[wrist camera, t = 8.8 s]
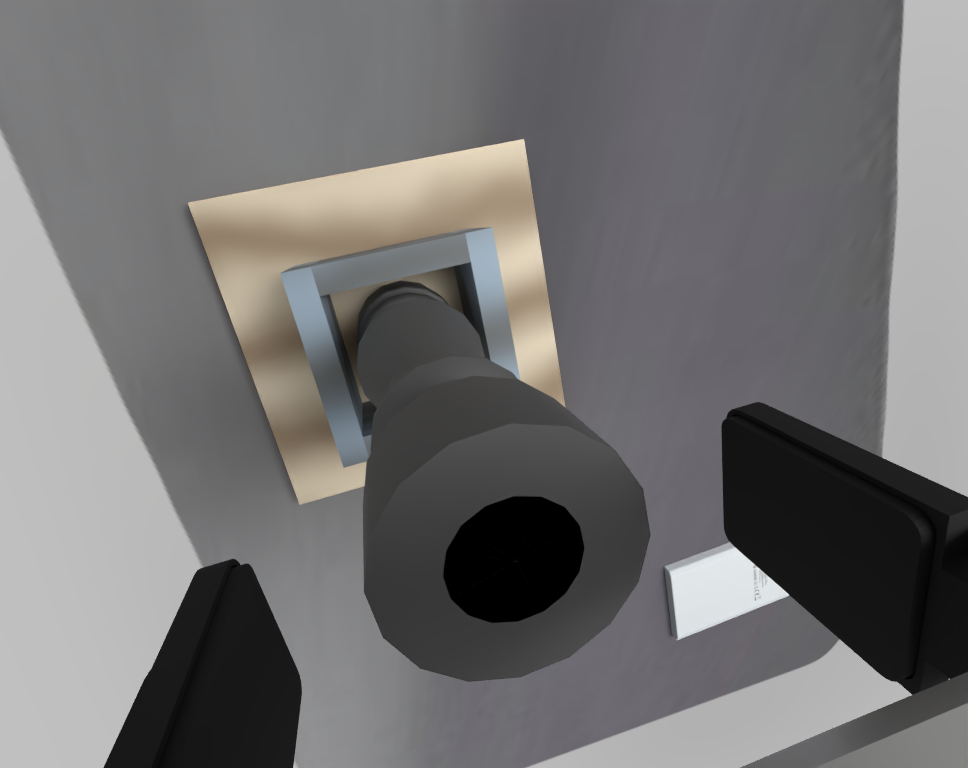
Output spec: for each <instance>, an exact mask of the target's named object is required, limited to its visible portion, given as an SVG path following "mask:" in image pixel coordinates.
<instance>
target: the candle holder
mask: <svg viewBox="0 0 968 768" xmlns="http://www.w3.org/2000/svg"><path fill="white" fill-rule="evenodd" d="M357 345H358V359H357V374H358V377H359V380H360V383H361V385H362V388H363V391H364V394H365V396H366V397H367V398H368V399H369V400H370V401H371V402H372V403H373V404H374V405H375V406H376V408H377V410H376V411H375V413H374V415H373V425H372V436H371V448H370V450H371V454H370V456H369V458H368V459H367V464H366V475H365V487H364V498H363V546H364V593H365V595H366V598H367V600H368V603H369V605H370V607H371V610H372V612H373V615H374V617H375V619H376V622H377V624H378V627H379V629H380V632H381V634H382V636H383V638H384V639H385V640H387V641H388V642H389V643H390V644H391V645H393V646H394V647H395V648H396V649H397V650H399V651H400V652H401V653H402V654H403V655H405V656H406V657H407V658H408V659H410V660H411V661H412V662H413V663H414V664H416V665H417V666H418V667H419V668H420V669H424V670H428V671H431V672H435V673H439V674H442V675H446V676H450V677H453V678H457V679H461V680H464V681H468V682H470V681H482V680H493V679H505V678H517V677H522V676H524V675H527V674H529V673H532V672H534V671H537V670H539V669H541V668H544V667H546V666H549V665H551V664H554V663H556V662H558V661H561V660H563V659H566V658H568V657H570V656H571V655H572V654H574V653H575V652H576V651H577V650H579V649H580V648H581V647H582V646H584V645H585V644H586V643H587V642H589V641H590V640H591V639H592V638H594V637H595V636H596V635H597V634H598V633H600V632H601V631H602V630H603V629H605V628H606V627H607V626H608V625H610V624H611V622H612V621H613V619H614V618H615V616H616V615H617V613H618V612H619V610H620V609H621V607H622V606H623V604H624V603H625V601H626V600H627V598H628V597H629V595H630V594H631V592H632V591H633V589H634V588H635V586H636V585H637V583H638V582H639V578H640V574H641V570H642V566H643V562H644V558H645V554H646V550H647V546H648V542H649V538H650V530H649V523H648V517H647V511H646V504H645V498H644V492H643V488H642V487H641V485H640V484H639V483H638V481H637V480H636V478H635V477H634V476H633V474H632V473H631V472H630V470H629V469H628V467H627V466H626V465H625V463H624V462H623V460H622V459H621V458H620V456H619V455H618V453H617V452H616V451H615V450H614V449H613V448H612V447H611V446H610V445H608V444H607V443H606V442H605V441H604V440H603V439H601V438H600V437H599V436H598V435H597V434H595V433H594V432H593V431H592V430H591V429H590V428H588V427H587V426H586V425H585V424H584V423H583V422H581V421H580V420H579V419H578V418H577V417H576V416H574V415H573V414H572V413H571V412H570V411H569V410H567V409H566V408H565V407H564V406H563V405H562V404H560V403H559V402H558V401H557V400H556V399H554V398H553V397H551V396H549V395H547V394H545V393H543V392H541V391H539V390H538V389H536V388H534V387H532V386H530V385H528V384H526V383H524V382H523V381H521V380H519V379H517V377H516V376H515V375H514V374H513V373H512V372H511V371H509V370H507V369H505V368H503V367H501V366H500V365H498V364H496V363H494V362H492V361H490V360H488V359H487V358H485V355H484V351H483V348H482V344H481V340H480V336H479V334H478V332H477V331H476V330H475V329H474V327H473V326H472V325H471V323H470V322H469V321H468V319H467V318H466V317H465V316H464V315H463V314H462V313H460V312H459V311H457V310H455V309H453V308H451V307H450V306H449V304H448V303H447V302H446V301H445V299H444V298H443V297H442V296H440V295H439V294H438V293H437V292H435V291H433V290H431V289H430V288H428V287H426V286H424V285H423V284H421V283H418V282H410V281H401V280H400V281H397V282H393V283H390V284H386V285H382V286H381V287H380V288H379V289H377V290H376V291H375V292H374V293H372V294H371V295H370V296H369V297H367V299H366V301H365V303H364V305H363V307H362V309H361V310H360V312H359V314H358V327H357Z"/></svg>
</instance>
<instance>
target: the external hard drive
mask: <svg viewBox="0 0 968 768" xmlns="http://www.w3.org/2000/svg"><path fill="white" fill-rule="evenodd" d="M664 569H665V577H666V586H667V595H668V603H669V612H670V621H671V630H672V635H673V636H674V637H675V638H676V639H677V640H679V639H681V638H684V637H686V636H689V635H692V634H694V633H697V632H699V631H702V630H704V629H707V628H709V627H711V626H714V625H717V624H719V623H722V622H724V621H726V620H729V619H732V618H734V617H737V616H739V615H742V614H744V613H747V612H749V611H752V610H754V609H757V608H759V607H761V606H764V605H767V604H769V603H772V602H774V601H777V600H779V599H782V598H784V597H787V596H789V594H788V593H787V592H786V591H784V590H783V589H782V588H781V587H780V586H779V585H778V584H776V583H775V582H774V581H773V580H772V579H771V578H770V577H768V576H767V575H766V574H765V573H764V572H763V571H762V570H760V569H759V568H758V567H757V566H756V565H755V564H754V563H752V562H751V561H750V560H749V559H748V558H747V557H746V556H744V555H743V554H742V553H741V552H740V551H739V550H738V549H736V548H735V547H734V546H733V545H732V544H731V543H730V542H729V543H727V544H724V545H721V546H719V547H716V548H713V549H710V550H708V551H705V552H702V553H699V554H697V555H694V556H691V557H689V558H686V559H683V560H680V561H678V562H675V563H672V564H670V565H667V566H664Z"/></svg>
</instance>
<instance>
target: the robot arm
mask: <svg viewBox="0 0 968 768" xmlns="http://www.w3.org/2000/svg"><path fill="white" fill-rule="evenodd" d="M722 467H723V510H724V530H725V534H726V536H727V538H728V540H729V541H730V543H731V544H732V545H733V546H734V547H735V548H736V549H738V550H739V551H740V552H741V553H742V554H743V555H744V556H746V557H747V558H748V559H749V560H750V561H751V562H752V563H754V564H755V565H756V566H757V567H758V568H759V569H760V570H762V571H763V572H764V573H765V574H766V575H767V576H768V577H770V578H771V579H772V580H773V581H774V582H775V583H776V584H778V585H779V586H780V587H781V588H782V589H783V590H784V591H786V592H787V593H788V594H789V595H790V596H791V597H792V598H794V599H795V600H796V601H797V602H798V603H799V604H800V605H801V606H803V607H804V608H805V609H806V610H807V611H808V612H809V613H811V614H812V615H813V616H814V617H815V618H816V619H817V620H819V621H820V622H821V623H822V624H823V625H824V626H825V627H827V628H828V629H829V630H830V631H831V632H832V633H833V634H835V635H836V636H837V637H838V638H839V639H840V640H841V641H843V642H844V643H845V644H846V645H847V646H848V647H850V648H851V649H852V650H853V651H854V652H855V653H856V654H858V655H859V656H860V657H861V658H862V659H863V660H864V661H866V662H867V663H868V664H869V665H870V666H871V667H873V669H875V670H876V671H877V672H878V673H879V674H881V675H882V676H883V677H885V678H886V679H888V680H890V681H895V682H898V683H899V684H901V685H902V686H903V687H904V688H905V689H906V690H908V691H909V692H910V693H911V694H912V696H909V697H907V698H905V699H902V700H900V701H897V702H895V703H893V704H890V705H888V706H885V707H883V708H881V709H878V710H876V711H873V712H871V713H869V714H866V715H864V716H862V717H859V718H857V719H854V720H852V721H850V722H847V723H845V724H842V725H840V726H838V727H835V728H833V729H830V730H828V731H826V732H823V733H821V734H818V735H816V736H814V737H811V738H809V739H807V740H804V741H802V742H800V743H797V744H795V745H793V746H790V747H788V748H786V749H783V750H781V751H778V752H776V753H774V754H771V755H769V756H767V757H764V758H762V759H760V760H757V761H755V762H753V763H750V764H748V765H746V766H743V767H741V768H968V497H966V496H964V495H962V494H960V493H957V492H955V491H953V490H951V489H949V488H947V487H944V486H942V485H940V484H938V483H936V482H933V481H931V480H929V479H927V478H925V477H922V476H920V475H918V474H916V473H914V472H912V471H909V470H907V469H905V468H903V467H901V466H899V465H896V464H894V463H892V462H890V461H888V460H886V459H883V458H881V457H879V456H877V455H875V454H872V453H870V452H868V451H866V450H864V449H862V448H859V447H857V446H855V445H853V444H851V443H848V442H846V441H844V440H842V439H840V438H838V437H835V436H833V435H831V434H829V433H827V432H825V431H822V430H820V429H818V428H816V427H814V426H811V425H809V424H807V423H805V422H803V421H801V420H798V419H796V418H794V417H792V416H790V415H787V414H785V413H783V412H781V411H779V410H777V409H774V408H772V407H770V406H768V405H766V404H764V403H760V402H757V403H752V404H749V405H746V406H742V407H739V408H736V409H732V410H731V411H729V413H728V415H727V419H725V420H724V421H723V423H722ZM949 678H950V680H948V679H949ZM301 695H302V687H301V680H300V675H299V672H298V670H297V668H296V665H295V663H294V661H293V659H292V656H291V654H290V652H289V650H288V647H287V645H286V643H285V641H284V638H283V636H282V634H281V632H280V629H279V627H278V625H277V623H276V620H275V618H274V616H273V613H272V611H271V609H270V607H269V604H268V602H267V600H266V598H265V595H264V593H263V591H262V589H261V586H260V584H259V582H258V580H257V577H256V575H255V573H254V571H253V569H252V567H251V566H250V565H249V564H243V565H240V564H239V562H238V561H237V560H235V559H231V560H227V561H224V562H221V563H217V564H214V565H211V566H207V567H204V568H201V569H199V570H197V572H196V573H195V575H194V577H193V579H192V581H191V584H190V586H189V588H188V590H187V592H186V594H185V597H184V599H183V601H182V603H181V606H180V608H179V610H178V612H177V614H176V616H175V618H174V621H173V623H172V625H171V627H170V629H169V632H168V634H167V636H166V638H165V641H164V643H163V645H162V647H161V649H160V651H159V653H158V656H157V658H156V660H155V662H154V665H153V667H152V669H151V670H150V672H149V673H148V675H147V676H146V678H145V679H144V682H143V684H142V686H141V688H140V690H139V692H138V694H137V697H136V699H135V701H134V703H133V705H132V708H131V710H130V712H129V714H128V716H127V718H126V720H125V723H124V725H123V727H122V729H121V731H120V733H119V736H118V738H117V740H116V742H115V744H114V746H113V749H112V751H111V753H110V755H109V757H108V759H107V762H106V764H105V766H104V768H293V764H294V755H295V747H296V738H297V730H298V721H299V713H300V704H301Z"/></svg>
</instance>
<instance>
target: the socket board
mask: <svg viewBox="0 0 968 768" xmlns="http://www.w3.org/2000/svg"><path fill="white" fill-rule="evenodd" d="M188 205H189V208H190V210H191V213H192V216H193V219H194V221H195V224H196V227H197V229H198V232H199V235H200V237H201V240H202V243H203V246H204V248H205V251H206V254H207V256H208V259H209V262H210V264H211V267H212V270H213V272H214V275H215V278H216V281H217V283H218V286H219V289H220V291H221V294H222V297H223V299H224V302H225V305H226V307H227V310H228V313H229V316H230V318H231V321H232V324H233V326H234V329H235V332H236V334H237V337H238V340H239V342H240V345H241V348H242V351H243V353H244V356H245V359H246V361H247V364H248V367H249V369H250V372H251V375H252V377H253V380H254V383H255V386H256V388H257V391H258V394H259V396H260V399H261V402H262V404H263V407H264V410H265V412H266V415H267V418H268V421H269V423H270V426H271V429H272V431H273V434H274V437H275V439H276V442H277V445H278V447H279V450H280V453H281V456H282V458H283V461H284V464H285V466H286V469H287V472H288V474H289V477H290V480H291V482H292V485H293V488H294V491H295V493H296V496H297V499H298V501H299V504H300V505H301V504H305V503H308V502H311V501H315V500H318V499H322V498H325V497H329V496H332V495H336V494H339V493H342V492H346V491H349V490H353V489H356V488H360V487H363V486H365V475H366V464H367V459H368V458H369V456H370V454H371V450H370V448H371V436H372V425H373V415H374V413H375V411H376V410H377V408H376V406H375V405H374V404H373V403H372V402H371V401H370V400H369V399H368V398H367V397H366V396H365V394H364V391H363V388H362V385H361V383H360V380H359V377H358V374H357V359H358V345H357V327H358V314H359V312H360V310H361V309H362V307H363V305H364V303H365V301H366V299H367V297H369V296H370V295H371V294H372V293H374V292H375V291H376V290H377V289H379V288H380V287H381V286H382V285H386V284H390V283H393V282H397V281H400V280H401V281H410V282H418V283H421V284H423V285H424V286H426V287H428V288H430V289H431V290H433V291H435V292H437V293H438V294H439V295H440V296H442V297H443V298H444V299H445V301H446V302H447V303H448V304H449V306H450V307H451V308H453V309H455V310H457V311H459V312H460V313H462V314H463V315H464V316H465V317H466V318H467V319H468V321H469V322H470V323H471V325H472V326H473V327H474V329H475V330H476V331H477V332H478V334H479V336H480V340H481V344H482V348H483V351H484V355H485V358H487V359H488V360H490V361H492V362H494V363H496V364H498V365H500V366H501V367H503V368H505V369H507V370H509V371H511V372H512V373H513V374H514V375H515V376H516V377H517V379H519V380H521V381H523V382H524V383H526V384H528V385H530V386H532V387H534V388H536V389H538V390H539V391H541V392H543V393H545V394H547V395H549V396H551V397H553V398H554V399H556V400H557V401H558V402H559V403H560V404H562V405H563V406H564V407H565V403H564V396H563V390H562V383H561V377H560V370H559V364H558V357H557V351H556V344H555V338H554V331H553V325H552V318H551V312H550V305H549V299H548V292H547V286H546V279H545V273H544V266H543V260H542V253H541V247H540V240H539V234H538V227H537V221H536V214H535V208H534V201H533V195H532V188H531V182H530V175H529V169H528V162H527V156H526V149H525V143H524V139H522V140H516V141H511V142H506V143H501V144H495V145H490V146H485V147H479V148H474V149H469V150H464V151H458V152H453V153H448V154H442V155H437V156H432V157H427V158H421V159H416V160H411V161H406V162H400V163H395V164H390V165H384V166H379V167H374V168H369V169H363V170H358V171H353V172H347V173H342V174H337V175H332V176H326V177H321V178H316V179H310V180H305V181H300V182H295V183H289V184H284V185H279V186H274V187H268V188H263V189H258V190H252V191H247V192H242V193H237V194H231V195H226V196H221V197H215V198H210V199H205V200H200V201H194V202H189V203H188Z"/></svg>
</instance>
